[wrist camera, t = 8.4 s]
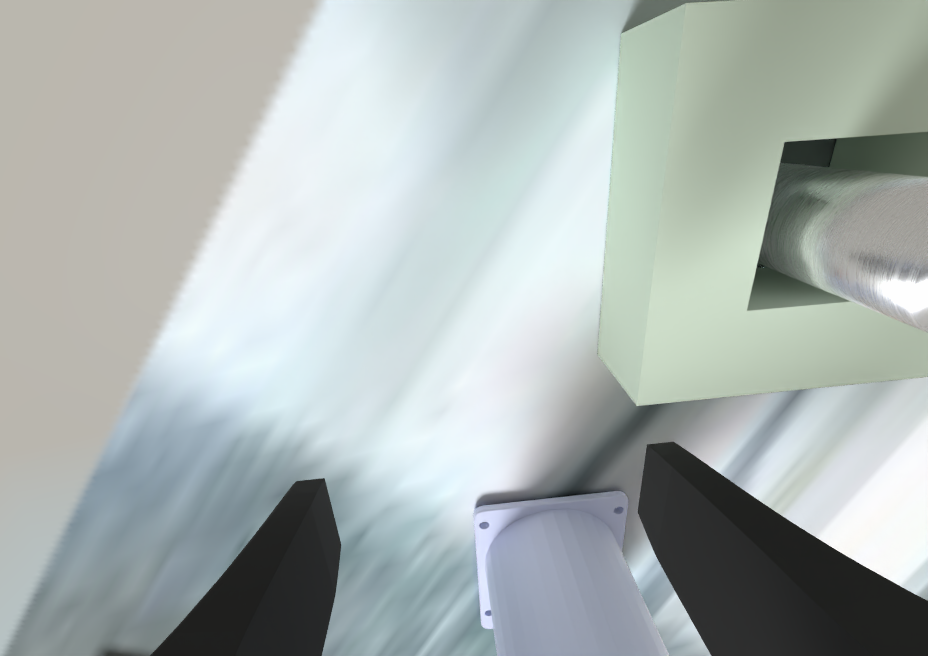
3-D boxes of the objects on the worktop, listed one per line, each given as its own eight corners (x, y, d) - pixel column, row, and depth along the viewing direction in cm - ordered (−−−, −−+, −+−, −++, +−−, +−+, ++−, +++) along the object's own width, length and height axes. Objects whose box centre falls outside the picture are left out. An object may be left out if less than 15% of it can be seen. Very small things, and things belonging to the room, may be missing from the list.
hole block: (855, 330, 20) (949, 374, 17) (597, 354, 20) (636, 406, 16) (963, 13, 15) (1131, -22, 12) (621, 33, 15) (686, 2, 11)
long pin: (794, 245, 18) (1040, 322, 11) (709, 262, 18) (897, 351, 11) (807, 153, 17) (1101, 172, 9) (713, 172, 17) (936, 205, 9)
